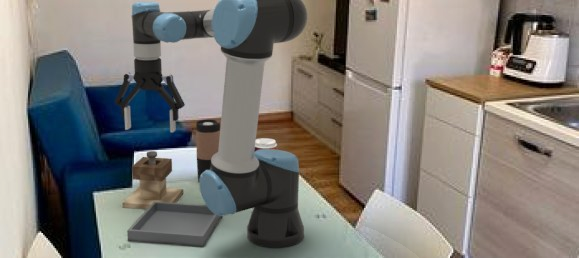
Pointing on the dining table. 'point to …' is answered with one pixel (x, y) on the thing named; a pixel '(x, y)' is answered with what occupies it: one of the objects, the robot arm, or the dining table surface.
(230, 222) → the dining table surface
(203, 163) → the travel mug
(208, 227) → the tray
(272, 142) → the paper cup
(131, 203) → the stake stand
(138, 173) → the collar
